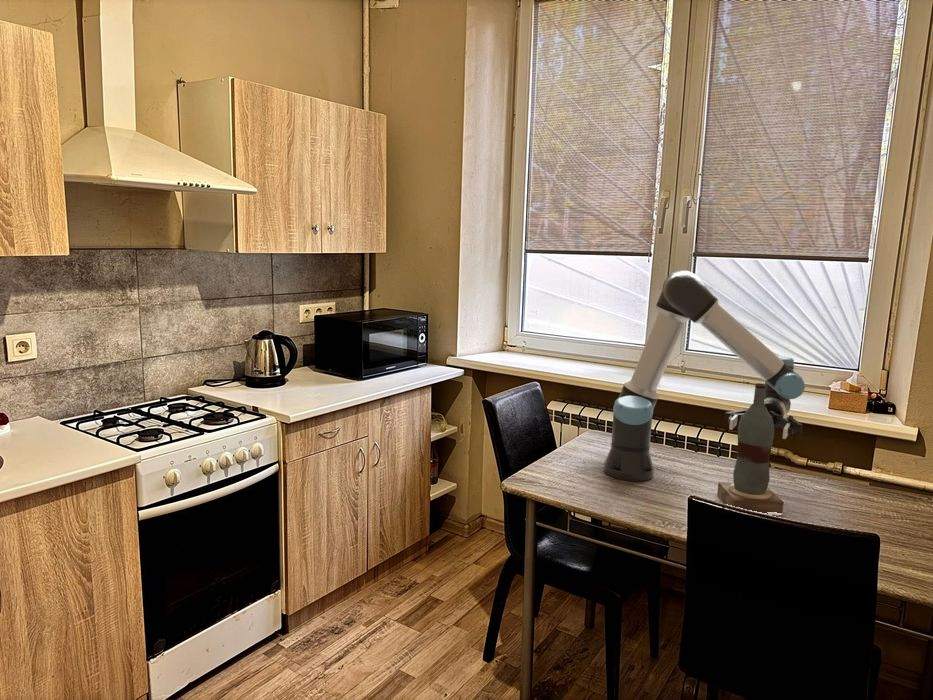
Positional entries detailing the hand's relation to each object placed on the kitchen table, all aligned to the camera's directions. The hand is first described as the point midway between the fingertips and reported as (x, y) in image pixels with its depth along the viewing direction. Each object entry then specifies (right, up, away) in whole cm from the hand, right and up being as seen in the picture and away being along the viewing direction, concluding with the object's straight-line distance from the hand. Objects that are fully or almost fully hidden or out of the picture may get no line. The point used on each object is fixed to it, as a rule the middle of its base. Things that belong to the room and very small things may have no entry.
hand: (757, 429), depth 180 cm
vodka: (0, -17, +4) cm, 18 cm away
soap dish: (0, -22, +5) cm, 22 cm away
